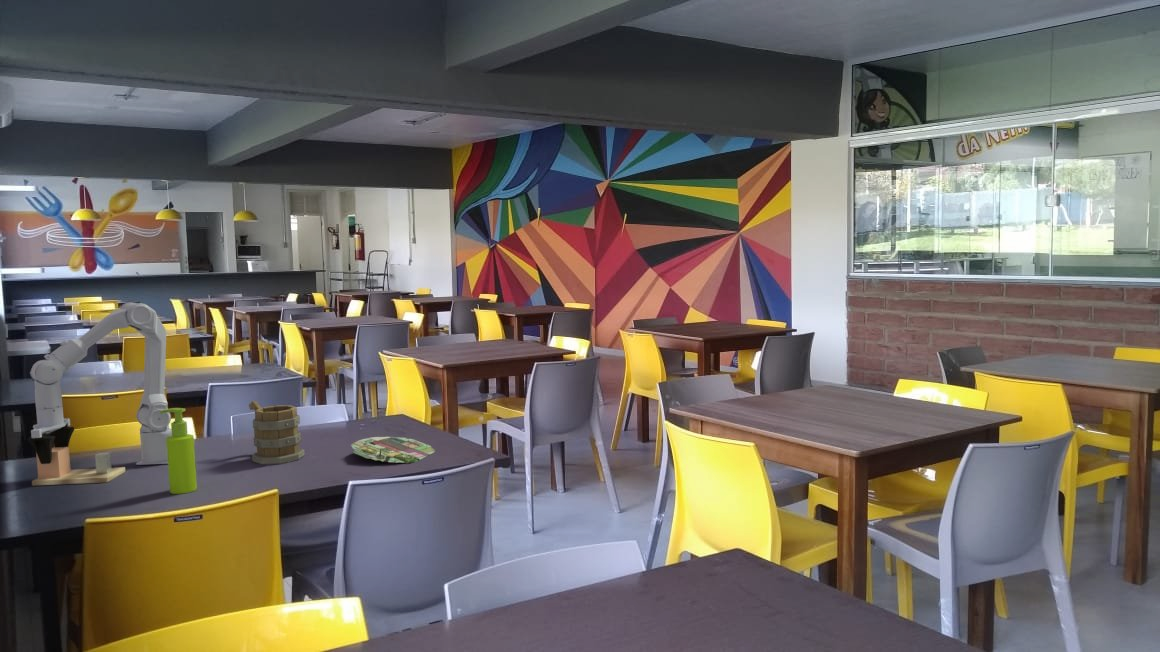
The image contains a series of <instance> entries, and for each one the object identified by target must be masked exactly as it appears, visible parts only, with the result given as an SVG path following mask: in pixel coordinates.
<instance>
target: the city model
mask: <svg viewBox="0 0 1160 652" xmlns="http://www.w3.org/2000/svg"><path fill="white" fill-rule="evenodd" d="M350 446H351V448H352V449H353V452H352V453H353V454H355V455H358V456H360V457H362V458H365V459H371V460H374V461H381V462H388V463H405V464H406V465H408V464H410V463H416V462H418V461H420V460H422V459H424V458H426V457H427V456H430V455H431V454H434V453H435V452H436V451H435V449H434V448H433V447H432V446H431V445H429V444H428V443H424V442H421V441H418V440H417V439H413V438H407V437H397V436H396V437H395V436H374V437H373V436H372V437H366V438H363V439H359V440H356V441H355V442H353V443H352V444H350Z"/></svg>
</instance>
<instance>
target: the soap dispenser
mask: <svg viewBox="0 0 1160 652" xmlns="http://www.w3.org/2000/svg"><path fill="white" fill-rule="evenodd" d="M166 412H169V413H174V421H173V422H170V427H171V428H170V429H172V436H170V437H168V438H166V442H167V456H168V464H167V467H168V469H167V470H168V481H169V482H168V483H169V493H170V494H174V495H179V494H188V493H192V492H195V491H197V489H198V483H197V482H198V481H197V470H196V468H197V467H196V455H195V442H194V441H195V440H194V435H193V434H190V433H188V423H187V421H185V420H183V419H184V418H183V412H186V408H184V407H183V408H182V407H171V408H168V409H165V410H163V411H160V413H166Z"/></svg>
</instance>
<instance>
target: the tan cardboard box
mask: <svg viewBox="0 0 1160 652" xmlns="http://www.w3.org/2000/svg"><path fill="white" fill-rule="evenodd" d="M35 454H36V455H35V456H36V467H37V478H56V477H62V476H64V475H66V474H68V473H70V472H71V470H72V469H71V461H70V460H71V459H70V458H71V457H70V447H69V446H68V447H55V446H54V447H52V460H51V463H50V464H41V462H40V460H39V458H38V455H37V453H36V452H35Z"/></svg>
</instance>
